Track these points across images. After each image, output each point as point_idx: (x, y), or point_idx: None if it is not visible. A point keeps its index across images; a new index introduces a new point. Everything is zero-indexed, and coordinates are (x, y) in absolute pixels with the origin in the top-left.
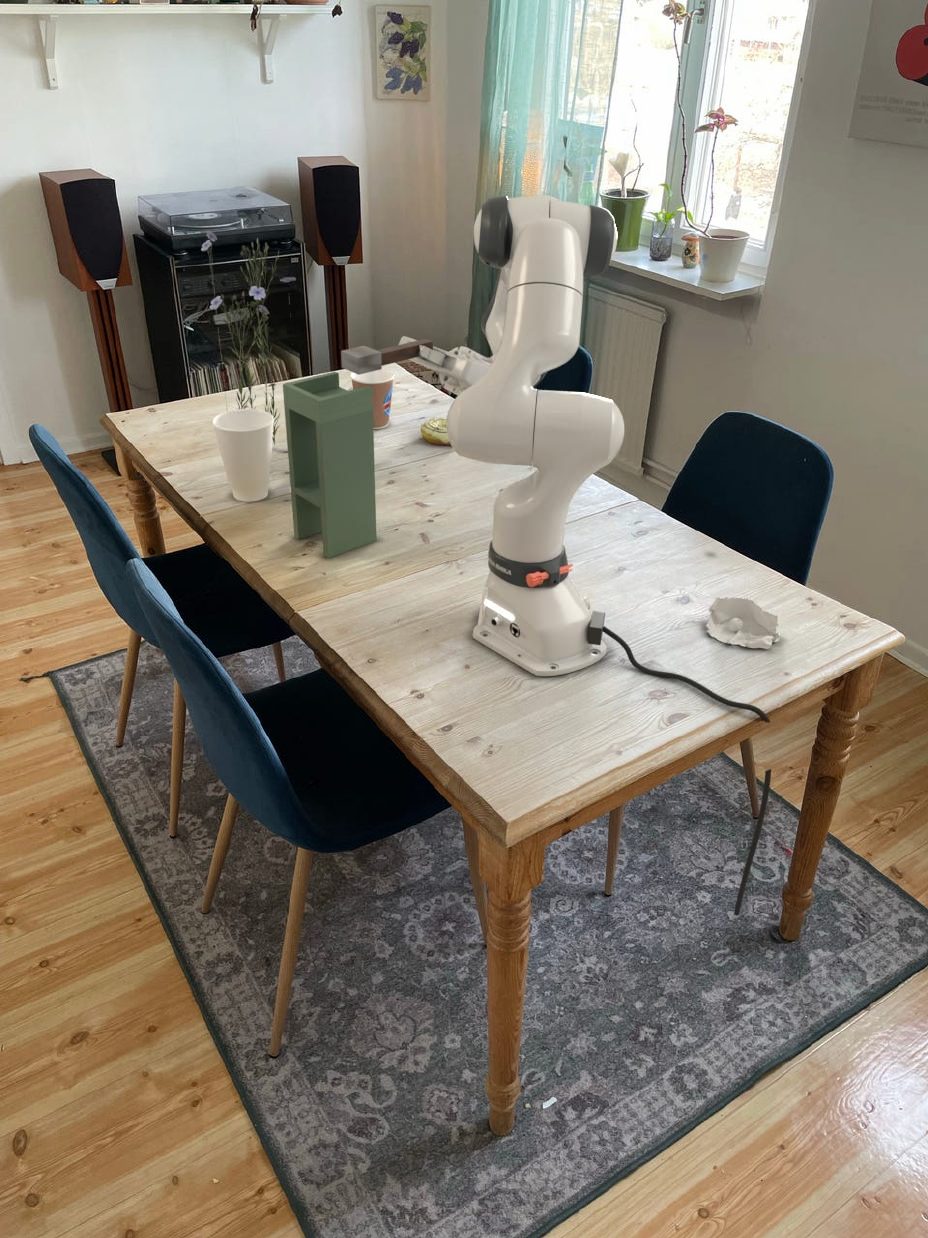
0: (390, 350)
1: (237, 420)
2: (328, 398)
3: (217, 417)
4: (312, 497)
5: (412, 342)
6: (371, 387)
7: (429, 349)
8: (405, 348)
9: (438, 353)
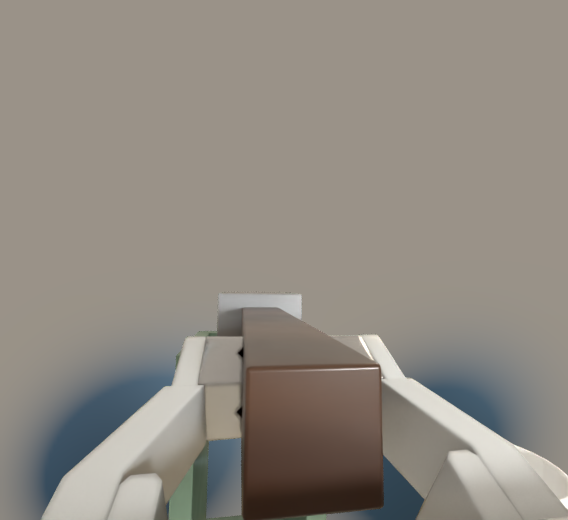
0: (252, 312)
1: (555, 488)
2: (197, 334)
3: None
4: (231, 516)
5: (308, 332)
6: (177, 355)
7: (175, 380)
8: (242, 322)
9: (95, 463)
